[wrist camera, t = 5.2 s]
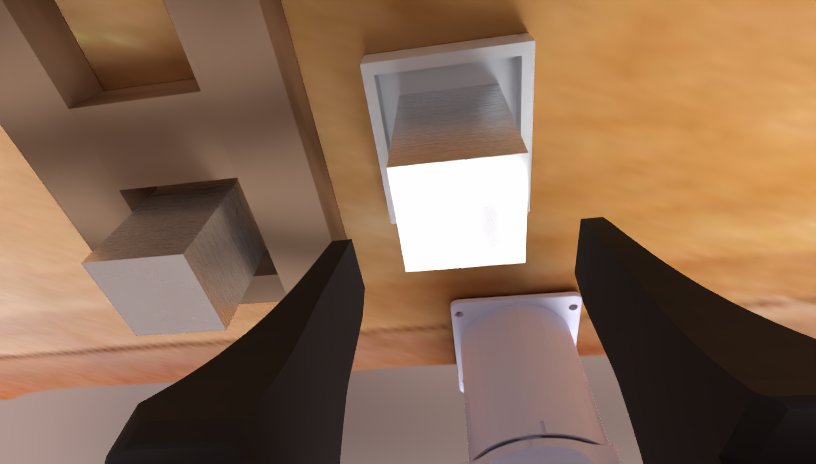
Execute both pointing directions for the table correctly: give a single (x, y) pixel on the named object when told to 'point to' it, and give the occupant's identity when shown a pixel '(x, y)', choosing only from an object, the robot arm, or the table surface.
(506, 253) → the billet
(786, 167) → the table surface
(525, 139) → the shallow grey tray
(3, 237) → the table surface
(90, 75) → the board
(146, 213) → the seated billet
